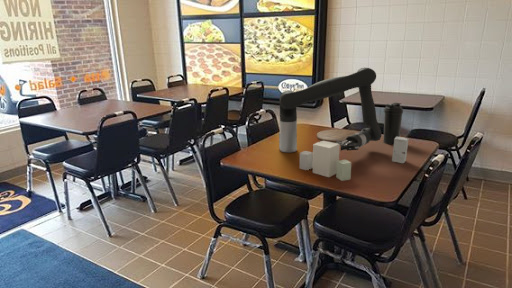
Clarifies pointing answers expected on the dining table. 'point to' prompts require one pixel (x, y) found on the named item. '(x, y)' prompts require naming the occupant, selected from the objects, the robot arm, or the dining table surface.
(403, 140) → the skincare box
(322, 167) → the cream box with panel
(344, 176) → the sage block
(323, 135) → the trivet
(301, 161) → the grey block
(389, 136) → the water bottle
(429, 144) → the dining table surface
